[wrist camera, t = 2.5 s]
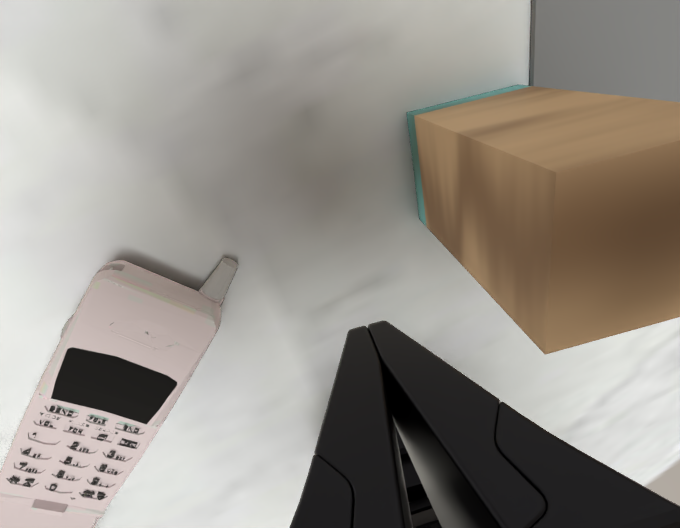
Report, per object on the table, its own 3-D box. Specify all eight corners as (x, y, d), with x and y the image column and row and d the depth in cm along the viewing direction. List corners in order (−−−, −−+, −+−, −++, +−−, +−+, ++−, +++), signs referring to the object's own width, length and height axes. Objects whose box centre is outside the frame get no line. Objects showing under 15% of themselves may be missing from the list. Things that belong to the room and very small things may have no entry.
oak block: (516, 193, 19) (720, 305, 11) (419, 219, 19) (545, 354, 10) (518, 84, 17) (782, 113, 8) (406, 112, 17) (556, 172, 8)
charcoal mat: (726, 269, 24) (731, 272, 24) (523, 325, 23) (526, 328, 23) (873, -196, 14) (884, -201, 14) (534, -117, 14) (539, -121, 14)
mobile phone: (-104, 658, 20) (64, 272, 12) (-27, 531, 25) (126, 205, 17) (32, 663, 22) (248, 343, 14) (77, 546, 27) (253, 265, 19)
